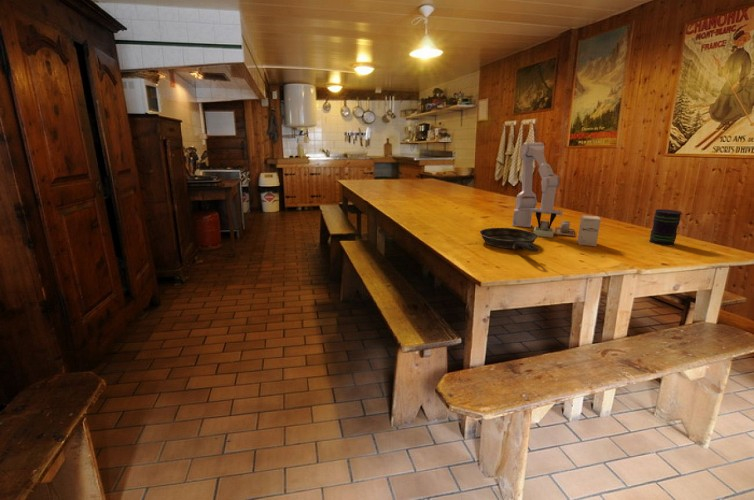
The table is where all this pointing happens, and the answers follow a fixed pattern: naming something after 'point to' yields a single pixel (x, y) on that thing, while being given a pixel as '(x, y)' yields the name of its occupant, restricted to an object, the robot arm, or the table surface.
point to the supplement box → (588, 230)
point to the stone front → (544, 225)
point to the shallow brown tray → (570, 234)
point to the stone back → (565, 222)
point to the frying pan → (510, 238)
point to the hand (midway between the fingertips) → (544, 228)
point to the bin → (544, 232)
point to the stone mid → (565, 227)
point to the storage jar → (665, 227)
